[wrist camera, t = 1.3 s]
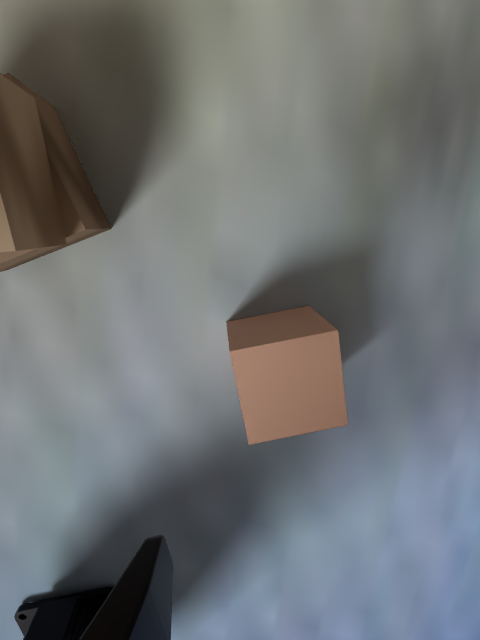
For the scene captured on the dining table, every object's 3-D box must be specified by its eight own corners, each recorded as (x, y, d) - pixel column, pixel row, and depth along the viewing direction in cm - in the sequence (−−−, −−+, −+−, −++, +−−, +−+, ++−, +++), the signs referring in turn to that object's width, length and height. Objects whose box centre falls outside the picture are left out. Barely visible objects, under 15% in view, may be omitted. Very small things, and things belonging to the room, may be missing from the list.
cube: (318, 380, 19) (348, 424, 15) (241, 395, 19) (248, 444, 15) (308, 305, 18) (338, 330, 14) (226, 321, 18) (229, 351, 14)
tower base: (112, 228, 16) (85, 229, 13) (8, 269, 17) (-44, 280, 13) (55, 107, 15) (8, 73, 11) (-59, 154, 15) (-137, 133, 12)
